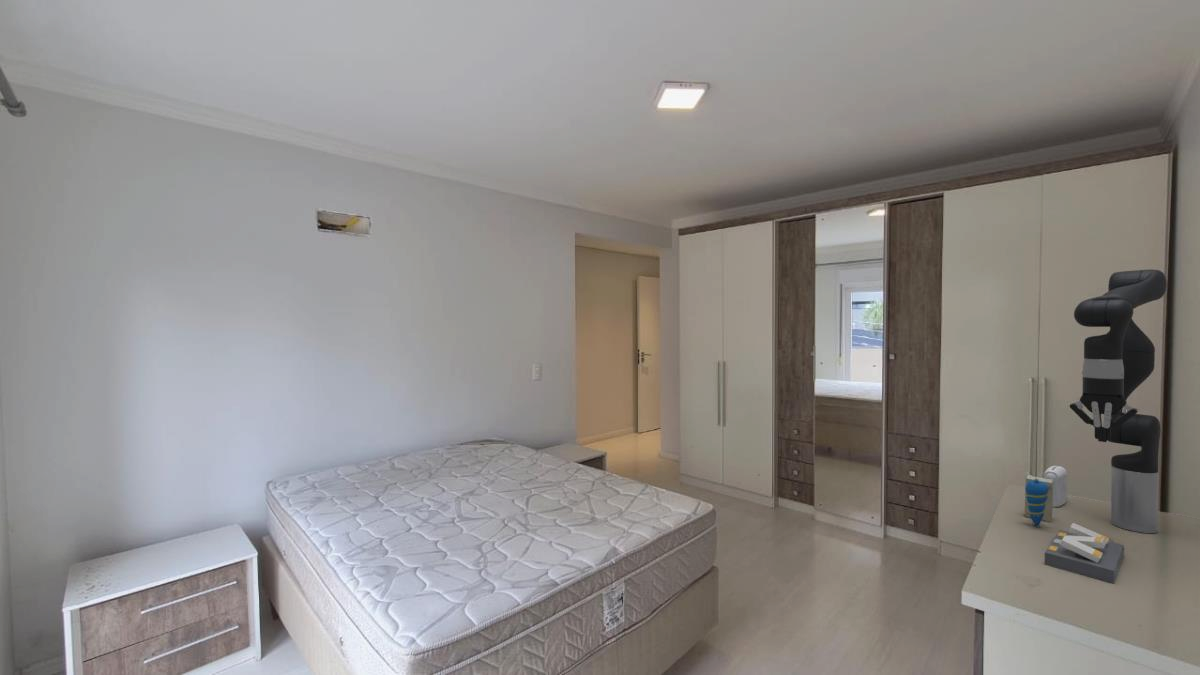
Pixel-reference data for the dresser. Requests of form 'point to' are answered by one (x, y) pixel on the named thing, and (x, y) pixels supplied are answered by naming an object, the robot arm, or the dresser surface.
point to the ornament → (1036, 499)
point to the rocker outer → (1081, 549)
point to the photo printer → (1058, 484)
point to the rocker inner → (1085, 532)
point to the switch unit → (1085, 559)
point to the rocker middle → (1090, 541)
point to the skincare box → (1049, 501)
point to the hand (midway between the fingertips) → (1102, 441)
